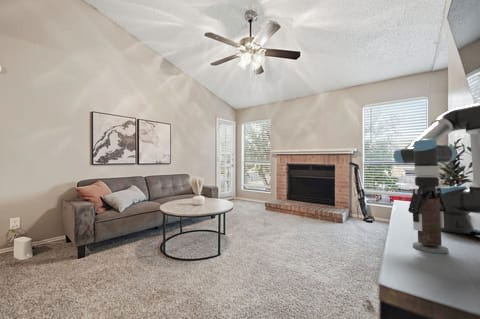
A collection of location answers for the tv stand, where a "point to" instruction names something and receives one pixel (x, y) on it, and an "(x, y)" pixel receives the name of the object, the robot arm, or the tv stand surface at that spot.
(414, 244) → the coaster
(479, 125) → the robot arm
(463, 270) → the tv stand surface
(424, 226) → the candle
